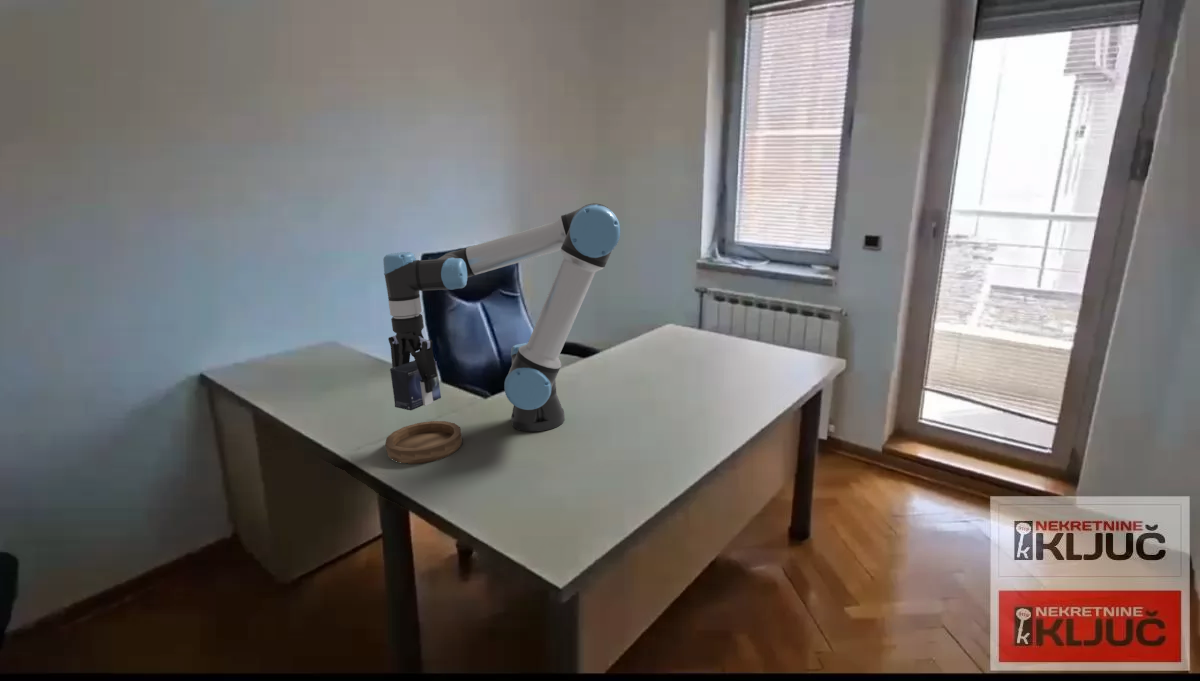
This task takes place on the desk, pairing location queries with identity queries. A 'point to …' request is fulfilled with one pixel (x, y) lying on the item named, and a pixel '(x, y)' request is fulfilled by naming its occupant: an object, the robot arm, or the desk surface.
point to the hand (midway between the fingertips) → (418, 401)
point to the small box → (410, 386)
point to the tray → (424, 442)
